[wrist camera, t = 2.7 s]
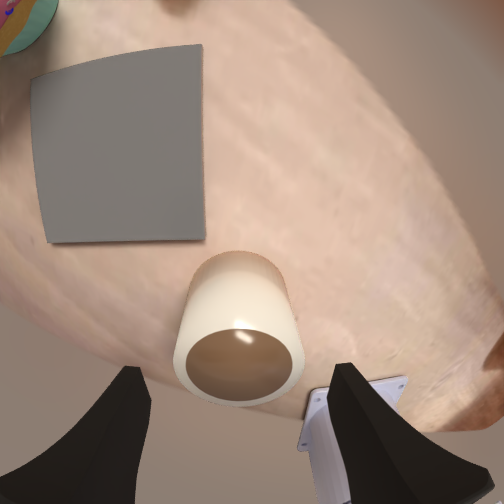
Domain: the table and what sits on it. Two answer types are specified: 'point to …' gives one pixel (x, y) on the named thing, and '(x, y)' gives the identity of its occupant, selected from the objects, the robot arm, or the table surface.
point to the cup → (238, 333)
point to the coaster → (121, 147)
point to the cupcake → (23, 22)
